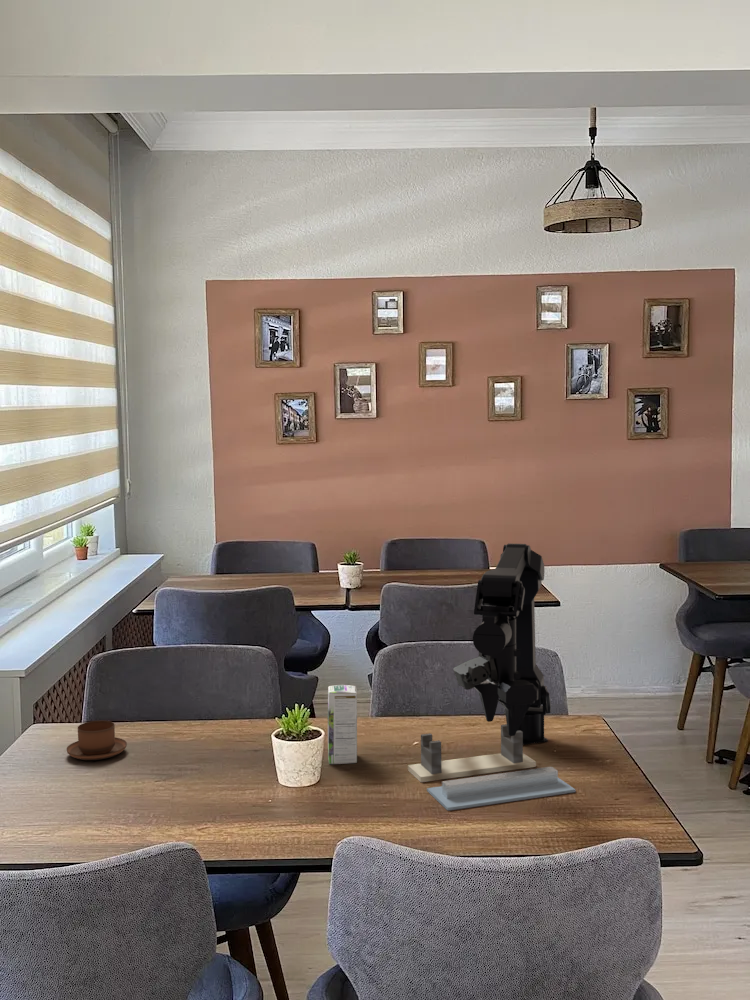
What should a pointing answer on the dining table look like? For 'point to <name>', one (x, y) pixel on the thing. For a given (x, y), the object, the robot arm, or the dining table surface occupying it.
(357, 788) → the dining table surface
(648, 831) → the dining table surface
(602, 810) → the dining table surface
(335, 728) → the syrup box
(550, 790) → the mat
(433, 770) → the rail stand
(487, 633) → the robot arm
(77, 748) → the cup and saucer
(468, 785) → the rail
